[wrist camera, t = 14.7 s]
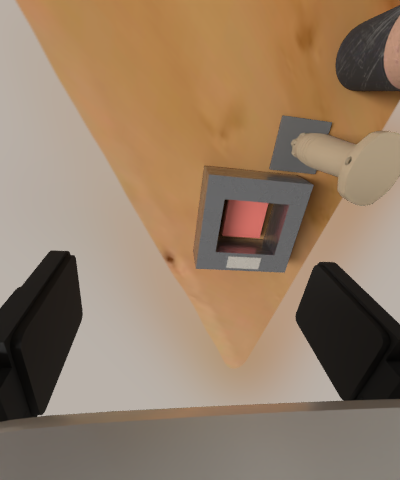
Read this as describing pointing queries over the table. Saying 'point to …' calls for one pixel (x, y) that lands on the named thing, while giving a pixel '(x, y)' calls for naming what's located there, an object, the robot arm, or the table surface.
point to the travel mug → (372, 54)
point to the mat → (286, 134)
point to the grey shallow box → (255, 190)
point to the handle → (353, 162)
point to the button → (243, 218)
